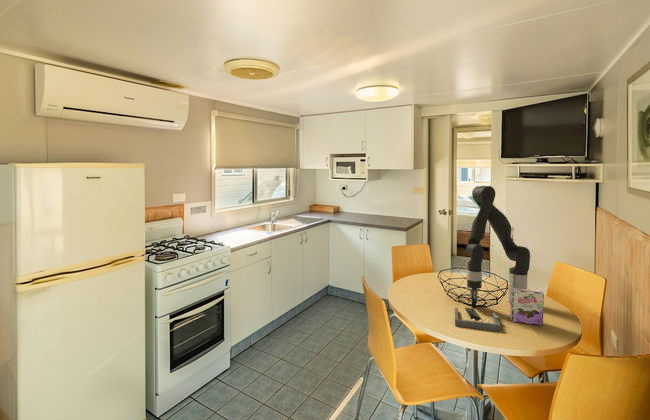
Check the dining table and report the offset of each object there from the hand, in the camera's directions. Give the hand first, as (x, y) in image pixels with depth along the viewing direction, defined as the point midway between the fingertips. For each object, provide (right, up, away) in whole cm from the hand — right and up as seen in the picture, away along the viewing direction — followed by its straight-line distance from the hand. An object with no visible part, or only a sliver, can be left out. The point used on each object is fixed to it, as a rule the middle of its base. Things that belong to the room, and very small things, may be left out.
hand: (473, 309), depth 188 cm
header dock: (-6, -1, -17) cm, 18 cm away
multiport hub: (-5, -1, -9) cm, 10 cm away
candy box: (+19, -2, -17) cm, 26 cm away
